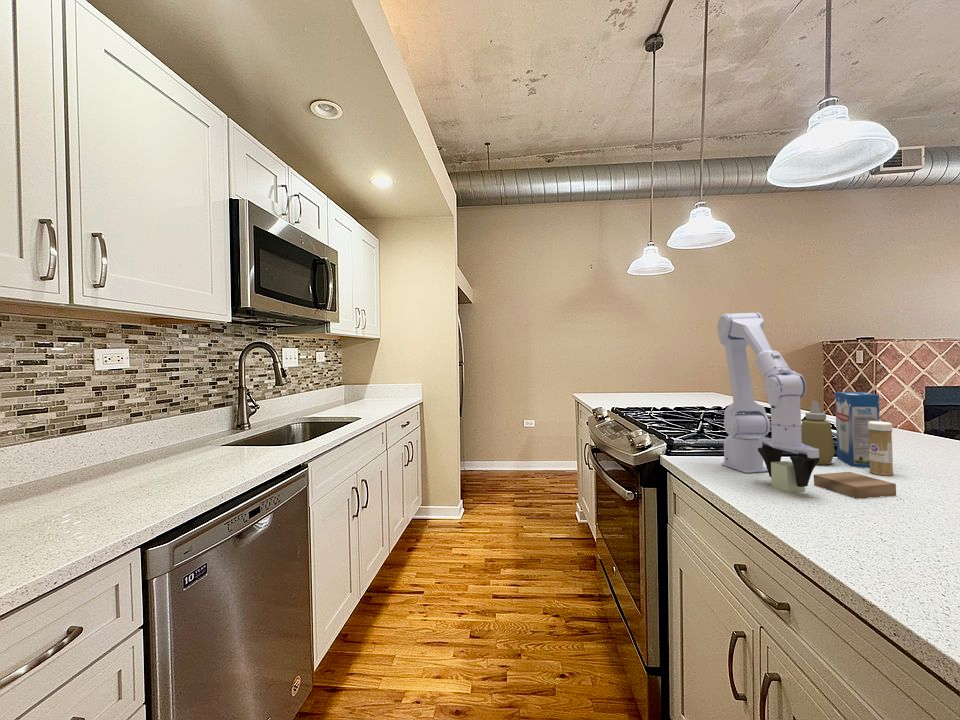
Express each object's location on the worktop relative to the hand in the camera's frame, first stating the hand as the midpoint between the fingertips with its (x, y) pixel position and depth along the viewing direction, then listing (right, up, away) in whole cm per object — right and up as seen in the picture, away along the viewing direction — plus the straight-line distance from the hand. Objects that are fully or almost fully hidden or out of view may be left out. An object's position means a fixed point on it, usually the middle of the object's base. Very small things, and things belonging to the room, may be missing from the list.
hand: (787, 481), depth 97 cm
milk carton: (+35, -1, +19) cm, 40 cm away
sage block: (0, -2, 0) cm, 2 cm away
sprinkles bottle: (+31, -1, +9) cm, 32 cm away
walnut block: (+13, -2, -2) cm, 14 cm away
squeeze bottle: (+25, -1, +21) cm, 33 cm away
